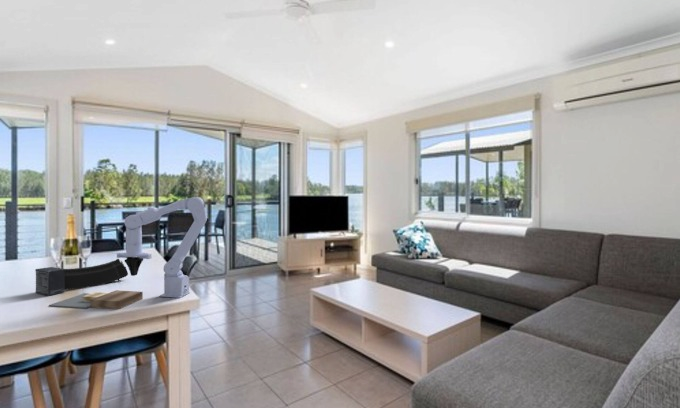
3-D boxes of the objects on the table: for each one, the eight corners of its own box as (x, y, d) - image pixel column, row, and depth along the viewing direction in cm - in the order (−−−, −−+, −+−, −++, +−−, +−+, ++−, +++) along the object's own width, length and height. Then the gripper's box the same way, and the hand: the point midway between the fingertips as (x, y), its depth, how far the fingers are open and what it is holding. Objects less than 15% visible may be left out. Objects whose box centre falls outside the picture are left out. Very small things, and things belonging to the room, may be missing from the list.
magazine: (44, 274, 146) (119, 246, 170) (42, 272, 148) (116, 245, 171) (59, 309, 151) (129, 277, 174) (56, 307, 153) (126, 276, 176)
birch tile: (110, 297, 143) (110, 293, 143) (98, 302, 137) (98, 297, 137) (95, 296, 144) (95, 292, 144) (82, 301, 138) (82, 296, 138)
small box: (66, 292, 151) (65, 268, 151) (48, 296, 145) (47, 271, 145) (52, 289, 155) (52, 266, 155) (35, 293, 149) (34, 269, 149)
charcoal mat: (118, 296, 147) (118, 295, 147) (86, 308, 131) (86, 307, 131) (84, 294, 149) (84, 293, 149) (48, 306, 133) (48, 305, 133)
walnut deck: (142, 298, 144) (142, 291, 144) (118, 309, 131) (118, 301, 131) (116, 297, 145) (116, 290, 145) (90, 307, 132) (90, 299, 132)
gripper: (156, 242, 148) (156, 273, 149) (125, 241, 150) (125, 272, 150) (145, 244, 141) (145, 277, 142) (112, 243, 143) (112, 276, 143)
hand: (134, 275), depth 146 cm, fingers closed
